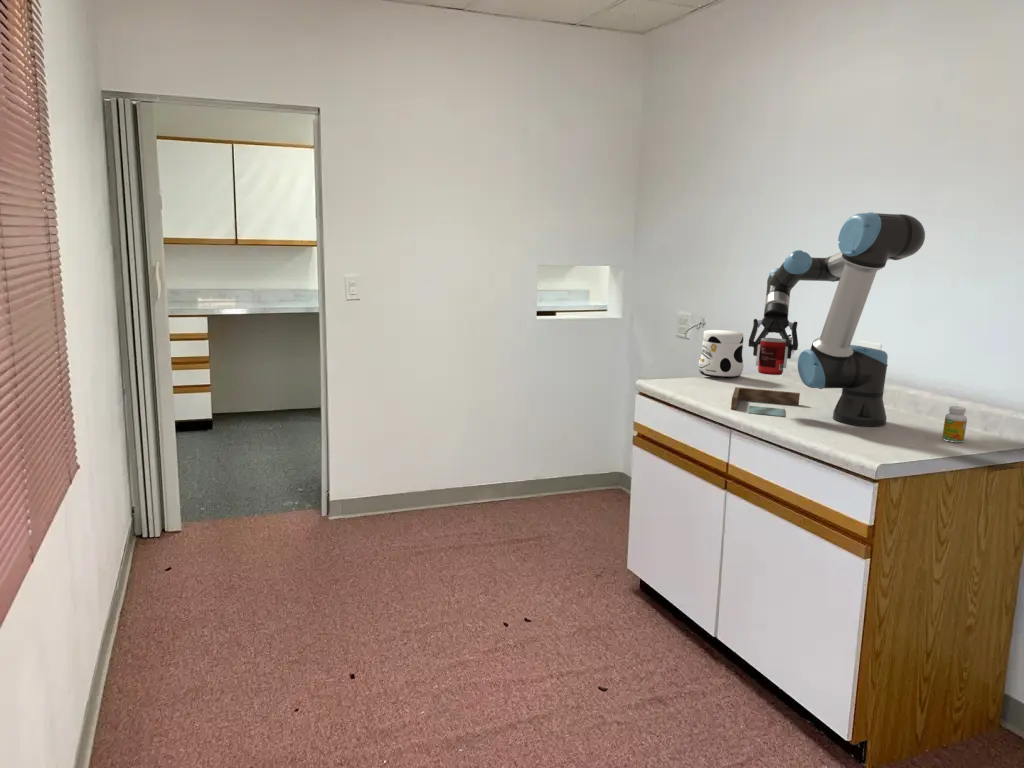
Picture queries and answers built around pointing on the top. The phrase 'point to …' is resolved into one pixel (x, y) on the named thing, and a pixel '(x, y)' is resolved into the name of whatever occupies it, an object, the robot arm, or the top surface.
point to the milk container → (721, 354)
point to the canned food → (771, 356)
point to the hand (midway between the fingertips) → (771, 364)
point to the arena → (764, 400)
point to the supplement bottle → (955, 424)
